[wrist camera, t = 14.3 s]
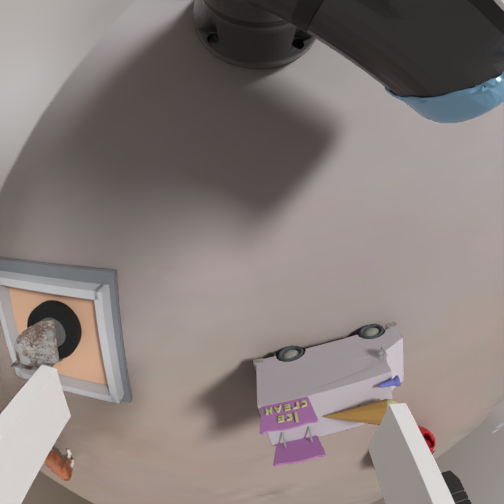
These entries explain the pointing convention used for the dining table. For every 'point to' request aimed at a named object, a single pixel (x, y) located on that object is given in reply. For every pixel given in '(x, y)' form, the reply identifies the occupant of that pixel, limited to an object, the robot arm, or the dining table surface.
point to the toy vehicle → (327, 389)
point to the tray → (88, 312)
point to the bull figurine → (60, 464)
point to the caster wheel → (47, 336)
